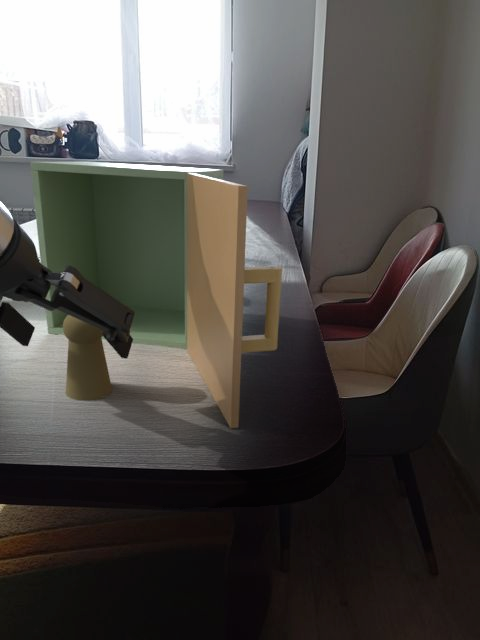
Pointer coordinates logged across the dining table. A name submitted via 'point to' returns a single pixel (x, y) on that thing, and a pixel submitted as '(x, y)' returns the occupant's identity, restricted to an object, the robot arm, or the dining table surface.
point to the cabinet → (120, 238)
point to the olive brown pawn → (85, 361)
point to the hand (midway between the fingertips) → (77, 342)
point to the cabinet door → (223, 288)
